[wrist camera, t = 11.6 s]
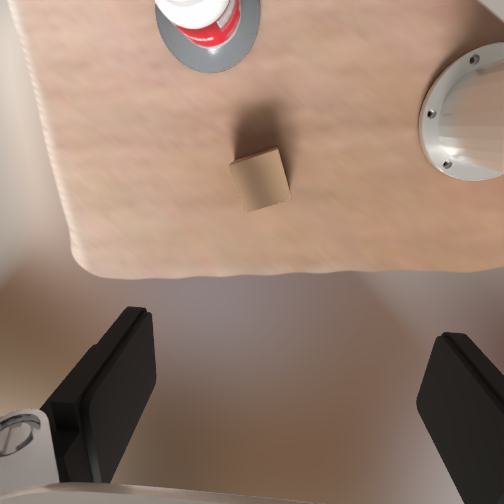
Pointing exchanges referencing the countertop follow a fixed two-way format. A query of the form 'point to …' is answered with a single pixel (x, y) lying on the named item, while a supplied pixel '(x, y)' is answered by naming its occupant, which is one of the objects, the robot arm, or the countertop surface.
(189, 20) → the pill bottle
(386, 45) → the countertop surface
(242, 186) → the light brown wooden block
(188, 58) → the coaster
